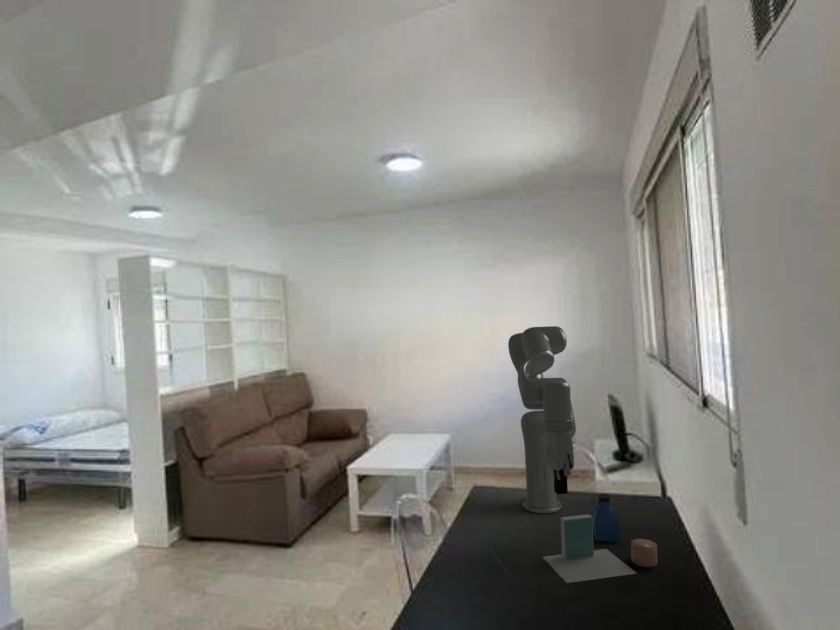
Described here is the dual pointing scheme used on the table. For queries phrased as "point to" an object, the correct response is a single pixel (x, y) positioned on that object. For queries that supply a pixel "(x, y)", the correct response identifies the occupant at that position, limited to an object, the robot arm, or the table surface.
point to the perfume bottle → (605, 520)
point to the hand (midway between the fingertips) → (561, 492)
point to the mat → (589, 566)
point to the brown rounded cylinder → (644, 552)
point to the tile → (577, 536)
